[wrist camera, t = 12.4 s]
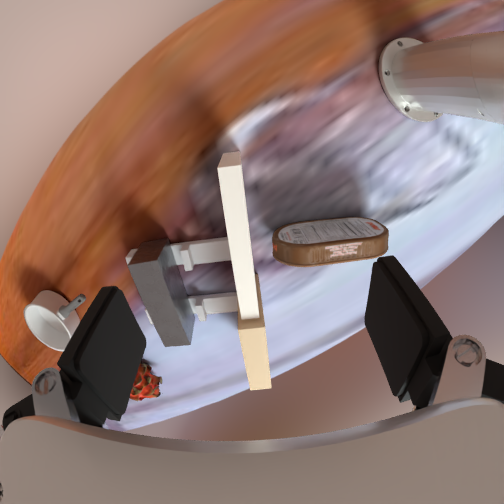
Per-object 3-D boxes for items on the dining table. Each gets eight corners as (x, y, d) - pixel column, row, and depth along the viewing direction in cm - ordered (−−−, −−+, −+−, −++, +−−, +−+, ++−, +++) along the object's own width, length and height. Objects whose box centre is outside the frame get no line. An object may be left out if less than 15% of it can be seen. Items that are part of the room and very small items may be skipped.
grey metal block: (168, 237, 35) (157, 260, 30) (195, 317, 42) (190, 344, 36) (141, 242, 35) (127, 265, 30) (171, 319, 42) (164, 346, 36)
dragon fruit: (121, 339, 47) (162, 367, 53) (98, 368, 44) (140, 392, 51) (132, 362, 40) (178, 389, 47) (106, 393, 38) (153, 416, 44)
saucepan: (120, 302, 41) (109, 324, 36) (67, 338, 45) (57, 357, 40) (73, 251, 36) (56, 269, 31) (30, 300, 40) (17, 317, 35)
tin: (269, 242, 37) (277, 276, 29) (267, 220, 35) (275, 250, 28) (371, 230, 37) (399, 259, 29) (372, 210, 35) (402, 235, 28)
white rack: (244, 150, 31) (247, 166, 21) (264, 335, 45) (271, 388, 35) (111, 175, 31) (66, 201, 21) (166, 343, 45) (155, 393, 35)
